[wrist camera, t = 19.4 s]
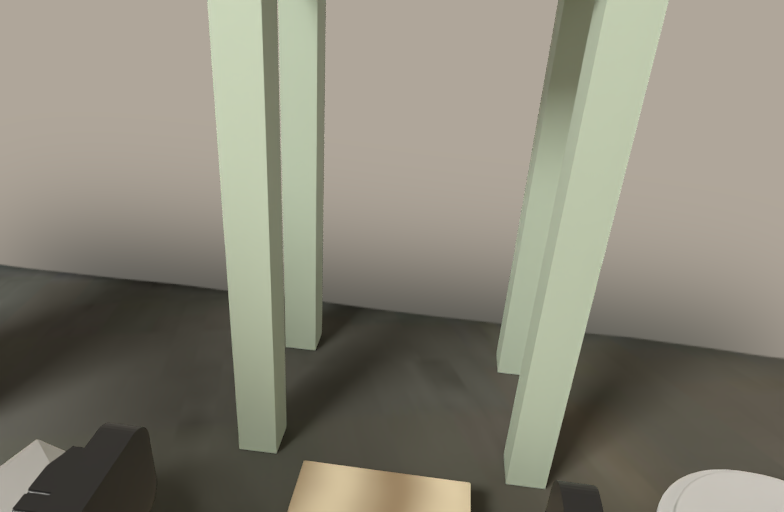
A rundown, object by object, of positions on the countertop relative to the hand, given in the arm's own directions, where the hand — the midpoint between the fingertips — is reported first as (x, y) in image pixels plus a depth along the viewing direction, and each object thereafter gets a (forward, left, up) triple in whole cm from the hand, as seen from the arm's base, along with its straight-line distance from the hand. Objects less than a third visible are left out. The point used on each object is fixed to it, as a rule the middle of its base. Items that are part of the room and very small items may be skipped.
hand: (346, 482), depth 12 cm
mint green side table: (0, +27, -21) cm, 34 cm away
